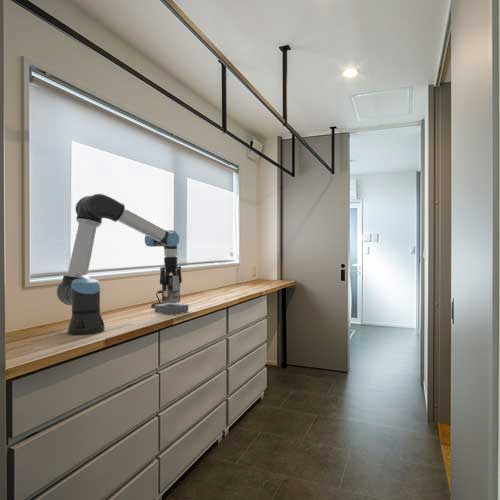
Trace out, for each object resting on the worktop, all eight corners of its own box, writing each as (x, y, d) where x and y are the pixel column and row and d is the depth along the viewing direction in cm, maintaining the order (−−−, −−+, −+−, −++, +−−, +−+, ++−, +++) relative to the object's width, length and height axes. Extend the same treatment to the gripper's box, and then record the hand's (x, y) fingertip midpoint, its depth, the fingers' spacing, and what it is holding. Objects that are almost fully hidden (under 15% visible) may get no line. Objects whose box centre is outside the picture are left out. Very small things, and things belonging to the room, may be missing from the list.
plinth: (171, 314, 206) (171, 307, 206) (154, 311, 216) (154, 305, 216) (188, 311, 215) (188, 304, 215) (171, 309, 225) (171, 302, 225)
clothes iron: (162, 308, 228) (162, 291, 228) (150, 307, 233) (150, 290, 233) (176, 305, 241) (176, 288, 241) (165, 304, 245) (165, 288, 245)
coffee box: (180, 302, 216) (180, 274, 216) (172, 303, 210) (172, 275, 210) (169, 301, 221) (169, 274, 221) (161, 302, 215) (161, 275, 215)
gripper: (179, 256, 226) (180, 293, 226) (152, 256, 210) (153, 297, 210) (187, 256, 221) (188, 294, 221) (160, 257, 206) (161, 298, 206)
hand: (171, 295), depth 216 cm, fingers closed on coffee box, 7 cm apart
